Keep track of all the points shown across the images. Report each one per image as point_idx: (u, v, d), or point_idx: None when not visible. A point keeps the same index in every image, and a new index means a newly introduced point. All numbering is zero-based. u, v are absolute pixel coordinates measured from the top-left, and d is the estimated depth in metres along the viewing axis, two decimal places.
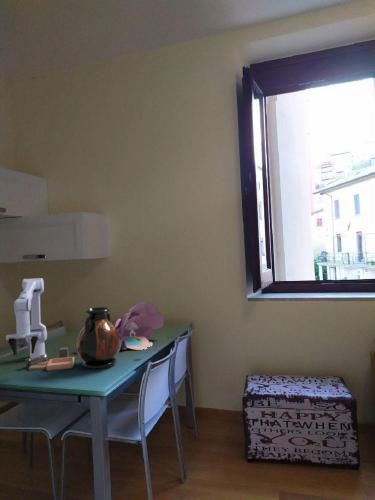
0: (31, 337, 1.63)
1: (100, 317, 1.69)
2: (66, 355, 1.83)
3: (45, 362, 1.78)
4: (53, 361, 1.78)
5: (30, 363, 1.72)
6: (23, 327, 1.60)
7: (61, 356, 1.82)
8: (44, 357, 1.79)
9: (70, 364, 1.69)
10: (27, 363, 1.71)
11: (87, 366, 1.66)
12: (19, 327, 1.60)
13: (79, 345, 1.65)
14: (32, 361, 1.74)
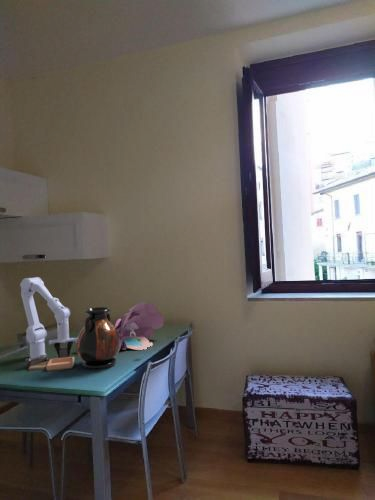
0: None
1: (100, 317, 1.69)
2: (66, 355, 1.83)
3: (45, 362, 1.78)
4: (53, 361, 1.78)
5: (30, 363, 1.72)
6: (63, 333, 1.82)
7: (61, 356, 1.82)
8: (44, 357, 1.79)
9: (70, 364, 1.69)
10: (27, 363, 1.71)
11: (87, 366, 1.66)
12: (60, 333, 1.82)
13: (79, 345, 1.65)
14: (32, 361, 1.74)
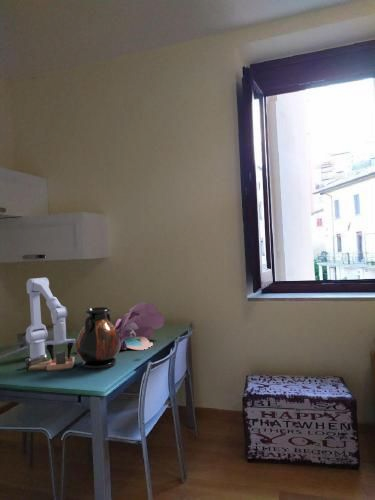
0: (67, 343, 1.74)
1: (100, 317, 1.69)
2: (63, 360, 1.72)
3: (45, 362, 1.78)
4: (53, 361, 1.78)
5: (30, 363, 1.72)
6: (60, 334, 1.71)
7: (58, 361, 1.72)
8: (44, 357, 1.79)
9: (70, 364, 1.69)
10: (27, 363, 1.71)
11: (87, 366, 1.66)
12: (57, 334, 1.71)
13: (79, 345, 1.65)
14: (32, 361, 1.74)
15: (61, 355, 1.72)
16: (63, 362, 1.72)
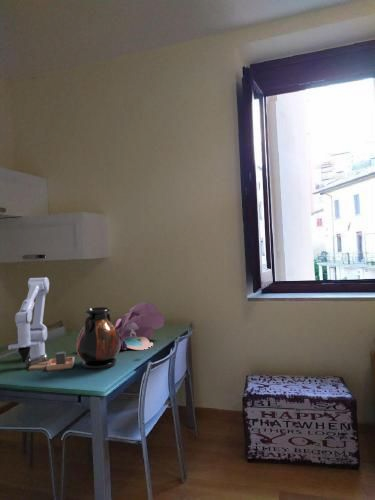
0: (31, 347, 1.75)
1: (100, 317, 1.69)
2: (63, 360, 1.72)
3: (45, 362, 1.78)
4: (53, 361, 1.78)
5: (30, 363, 1.72)
6: (24, 338, 1.72)
7: (58, 361, 1.72)
8: (44, 357, 1.79)
9: (70, 364, 1.69)
10: (27, 363, 1.71)
11: (87, 366, 1.66)
12: (20, 338, 1.72)
13: (79, 345, 1.65)
14: (32, 361, 1.74)
15: (61, 355, 1.72)
16: (63, 362, 1.72)
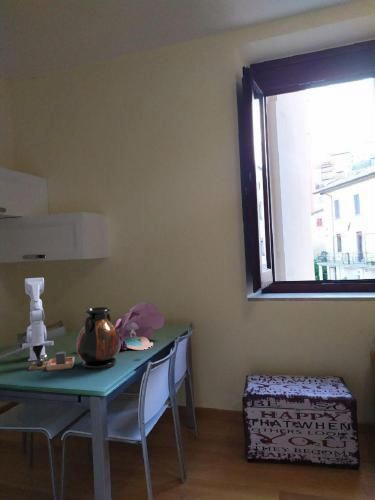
0: (45, 345, 1.76)
1: (100, 317, 1.69)
2: (63, 360, 1.72)
3: (45, 362, 1.78)
4: (53, 361, 1.78)
5: (42, 362, 1.72)
6: (38, 336, 1.73)
7: (58, 361, 1.72)
8: (46, 356, 1.80)
9: (70, 364, 1.69)
10: (41, 363, 1.71)
11: (87, 366, 1.66)
12: (34, 336, 1.73)
13: (79, 345, 1.65)
14: (42, 361, 1.74)
15: (61, 355, 1.72)
16: (63, 362, 1.72)
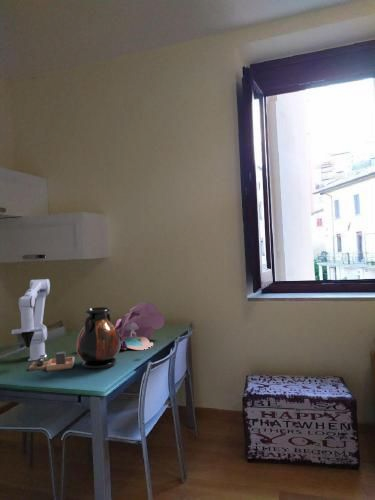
0: (35, 332, 1.75)
1: (100, 317, 1.69)
2: (63, 360, 1.72)
3: (45, 362, 1.78)
4: (53, 361, 1.78)
5: (42, 362, 1.72)
6: (27, 322, 1.72)
7: (58, 361, 1.72)
8: (46, 356, 1.80)
9: (70, 364, 1.69)
10: (41, 363, 1.71)
11: (87, 366, 1.66)
12: (24, 322, 1.72)
13: (79, 345, 1.65)
14: (42, 361, 1.74)
15: (61, 355, 1.72)
16: (63, 362, 1.72)
